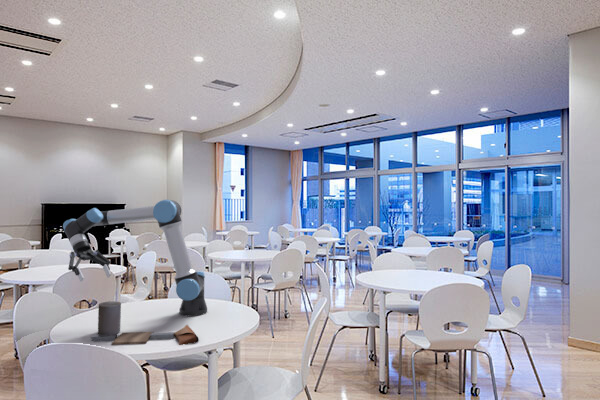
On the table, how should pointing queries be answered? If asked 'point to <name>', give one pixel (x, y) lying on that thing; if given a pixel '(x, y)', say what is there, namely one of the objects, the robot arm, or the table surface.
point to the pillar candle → (109, 317)
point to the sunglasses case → (186, 336)
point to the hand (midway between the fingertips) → (96, 277)
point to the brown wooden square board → (132, 338)
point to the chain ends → (113, 336)
